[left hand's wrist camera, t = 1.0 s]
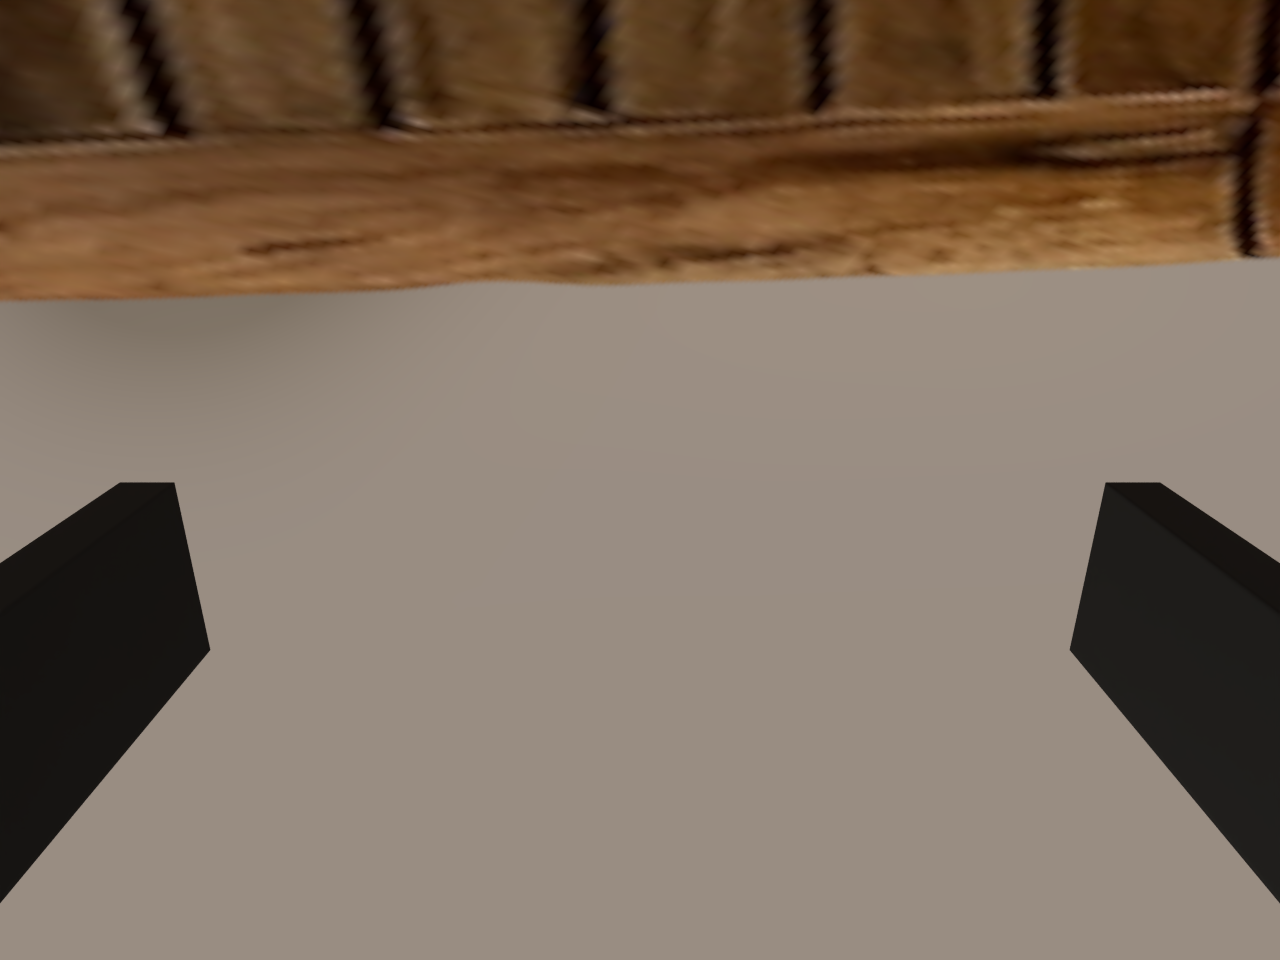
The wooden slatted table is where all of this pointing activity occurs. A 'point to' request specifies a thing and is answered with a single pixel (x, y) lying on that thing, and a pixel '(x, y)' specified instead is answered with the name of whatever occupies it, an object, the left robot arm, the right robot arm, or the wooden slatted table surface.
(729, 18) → the wooden slatted table surface
